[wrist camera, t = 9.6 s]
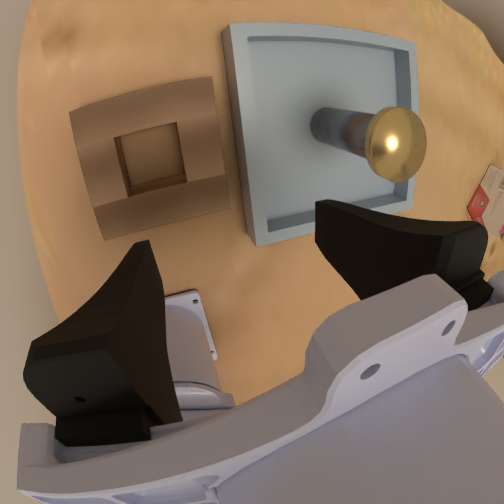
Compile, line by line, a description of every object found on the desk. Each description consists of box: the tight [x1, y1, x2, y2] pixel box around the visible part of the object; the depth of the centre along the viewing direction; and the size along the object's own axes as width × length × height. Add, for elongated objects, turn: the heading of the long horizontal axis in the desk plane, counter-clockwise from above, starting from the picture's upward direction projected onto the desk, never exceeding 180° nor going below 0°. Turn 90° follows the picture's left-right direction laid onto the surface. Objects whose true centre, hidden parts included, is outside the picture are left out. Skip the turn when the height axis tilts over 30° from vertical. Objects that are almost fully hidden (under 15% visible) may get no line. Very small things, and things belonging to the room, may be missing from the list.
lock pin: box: [310, 106, 427, 183], centre depth 17 cm, size 4×4×8 cm
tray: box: [221, 23, 419, 247], centre depth 21 cm, size 16×16×2 cm
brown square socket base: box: [69, 76, 231, 241], centre depth 18 cm, size 9×9×2 cm
